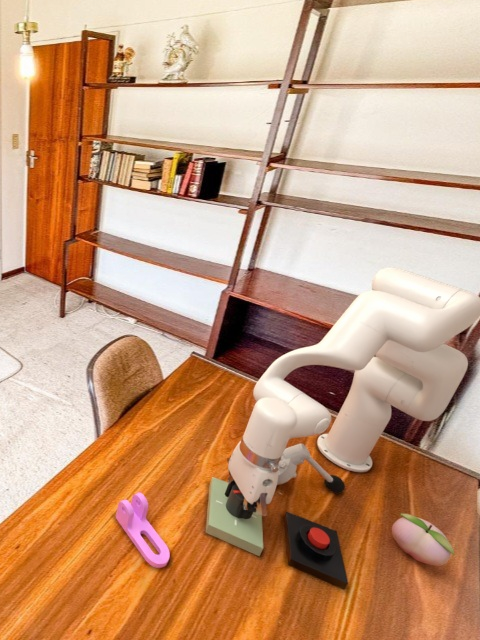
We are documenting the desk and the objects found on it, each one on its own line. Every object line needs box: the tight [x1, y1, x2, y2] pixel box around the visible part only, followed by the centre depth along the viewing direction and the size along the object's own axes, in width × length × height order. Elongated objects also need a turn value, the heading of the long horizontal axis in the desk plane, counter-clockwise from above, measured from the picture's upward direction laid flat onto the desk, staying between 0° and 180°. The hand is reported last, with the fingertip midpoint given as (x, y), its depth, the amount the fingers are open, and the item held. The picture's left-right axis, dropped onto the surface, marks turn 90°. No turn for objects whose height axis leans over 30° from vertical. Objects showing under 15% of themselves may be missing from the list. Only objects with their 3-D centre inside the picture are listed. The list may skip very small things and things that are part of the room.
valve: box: [277, 443, 346, 494], centre depth 102 cm, size 10×20×15 cm
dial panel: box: [205, 476, 264, 557], centre depth 93 cm, size 14×11×3 cm
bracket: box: [115, 491, 171, 569], centre depth 87 cm, size 13×6×7 cm, turn 26°
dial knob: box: [226, 484, 244, 517], centre depth 91 cm, size 4×4×6 cm
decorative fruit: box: [391, 512, 456, 567], centre depth 86 cm, size 9×8×10 cm
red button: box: [308, 528, 330, 549], centre depth 86 cm, size 4×4×2 cm
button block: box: [283, 511, 349, 590], centre depth 87 cm, size 12×10×4 cm
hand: (237, 505), depth 92 cm, fingers closed on dial knob, 4 cm apart
